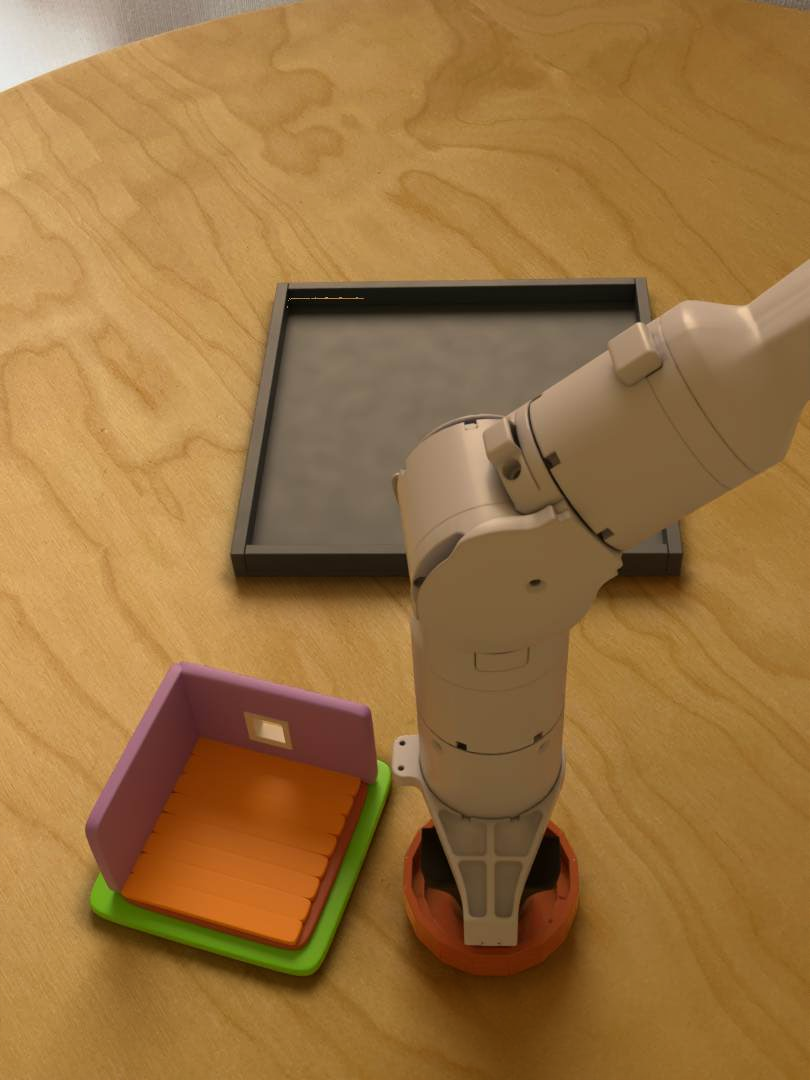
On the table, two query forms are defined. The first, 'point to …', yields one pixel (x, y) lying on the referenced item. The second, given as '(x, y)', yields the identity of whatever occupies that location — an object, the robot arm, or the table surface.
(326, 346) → the tray
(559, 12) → the table surface
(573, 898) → the dish
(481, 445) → the robot arm
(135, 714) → the table surface
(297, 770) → the miniature room corner
